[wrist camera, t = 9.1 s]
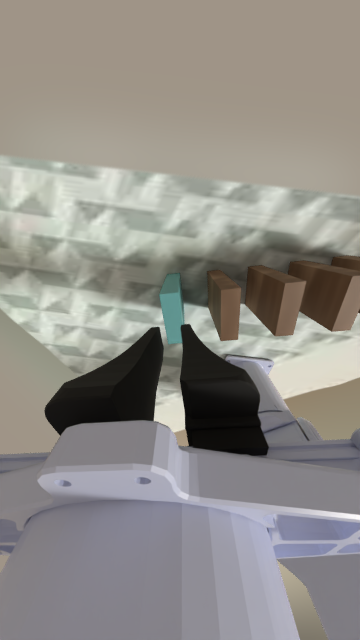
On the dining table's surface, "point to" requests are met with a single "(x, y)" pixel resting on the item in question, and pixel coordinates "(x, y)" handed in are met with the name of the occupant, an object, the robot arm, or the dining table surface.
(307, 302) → the walnut domino
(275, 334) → the walnut domino
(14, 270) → the dining table surface
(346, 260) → the walnut domino
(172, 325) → the teal domino
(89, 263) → the dining table surface
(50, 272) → the dining table surface
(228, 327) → the walnut domino
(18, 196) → the dining table surface
